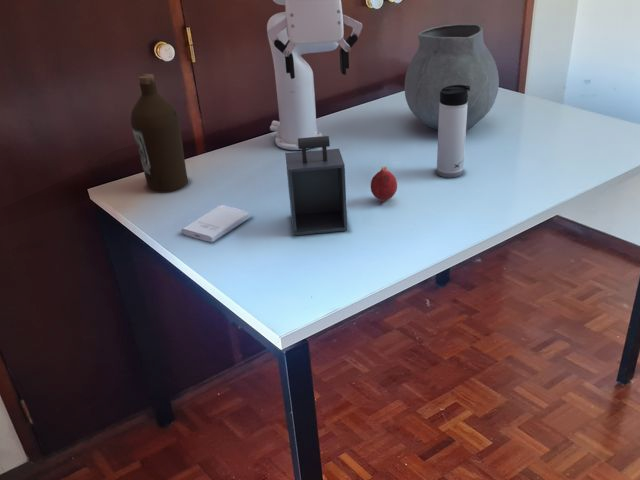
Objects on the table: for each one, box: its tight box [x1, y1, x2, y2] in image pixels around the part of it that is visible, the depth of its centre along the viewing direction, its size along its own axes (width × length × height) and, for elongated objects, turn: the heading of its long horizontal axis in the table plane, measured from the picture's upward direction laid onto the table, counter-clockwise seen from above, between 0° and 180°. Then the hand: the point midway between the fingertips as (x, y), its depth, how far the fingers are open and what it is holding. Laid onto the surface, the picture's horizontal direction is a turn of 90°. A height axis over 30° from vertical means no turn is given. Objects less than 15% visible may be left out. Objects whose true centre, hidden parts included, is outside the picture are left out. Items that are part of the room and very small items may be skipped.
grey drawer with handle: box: [284, 135, 348, 236], centre depth 143 cm, size 19×11×9 cm
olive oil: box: [130, 73, 189, 193], centre depth 160 cm, size 11×11×25 cm
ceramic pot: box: [404, 23, 500, 130], centre depth 185 cm, size 24×24×25 cm
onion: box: [370, 165, 398, 203], centre depth 154 cm, size 6×6×8 cm
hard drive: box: [181, 204, 251, 243], centre depth 149 cm, size 2×8×12 cm
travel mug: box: [436, 85, 470, 179], centre depth 161 cm, size 6×7×20 cm
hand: (317, 74), depth 133 cm, fingers open, 9 cm apart
